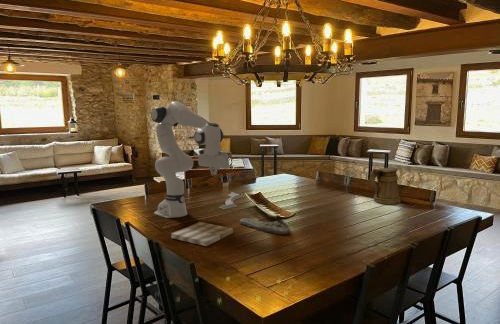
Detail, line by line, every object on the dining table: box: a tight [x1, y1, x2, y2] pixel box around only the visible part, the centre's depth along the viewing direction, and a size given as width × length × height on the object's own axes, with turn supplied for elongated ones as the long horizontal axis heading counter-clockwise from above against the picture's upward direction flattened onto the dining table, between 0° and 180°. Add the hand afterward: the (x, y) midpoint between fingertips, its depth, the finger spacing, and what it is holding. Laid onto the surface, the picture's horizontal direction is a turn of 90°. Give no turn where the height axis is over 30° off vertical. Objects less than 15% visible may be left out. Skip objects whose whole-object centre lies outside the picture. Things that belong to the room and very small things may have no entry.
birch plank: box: [170, 227, 221, 247], centre depth 209 cm, size 24×12×2 cm, turn 58°
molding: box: [219, 192, 243, 210], centre depth 285 cm, size 42×12×3 cm, turn 173°
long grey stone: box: [239, 217, 290, 235], centre depth 226 cm, size 35×5×10 cm
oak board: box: [185, 221, 234, 240], centre depth 219 cm, size 24×12×3 cm, turn 58°
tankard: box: [369, 167, 402, 206], centre depth 279 cm, size 18×24×25 cm
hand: (213, 174), depth 225 cm, fingers closed
